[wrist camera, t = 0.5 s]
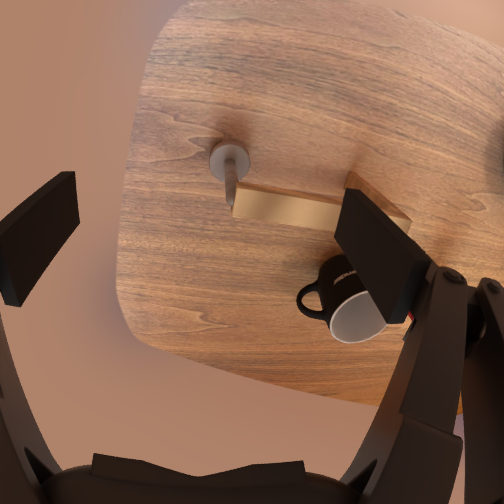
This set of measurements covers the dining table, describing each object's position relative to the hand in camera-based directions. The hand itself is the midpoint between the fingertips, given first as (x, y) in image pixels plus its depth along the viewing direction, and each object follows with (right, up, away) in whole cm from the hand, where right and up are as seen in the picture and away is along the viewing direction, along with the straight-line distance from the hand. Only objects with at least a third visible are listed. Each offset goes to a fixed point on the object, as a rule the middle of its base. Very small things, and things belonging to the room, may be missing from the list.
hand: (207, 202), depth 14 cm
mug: (+13, -5, +31) cm, 34 cm away
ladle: (+6, +8, +23) cm, 25 cm away
